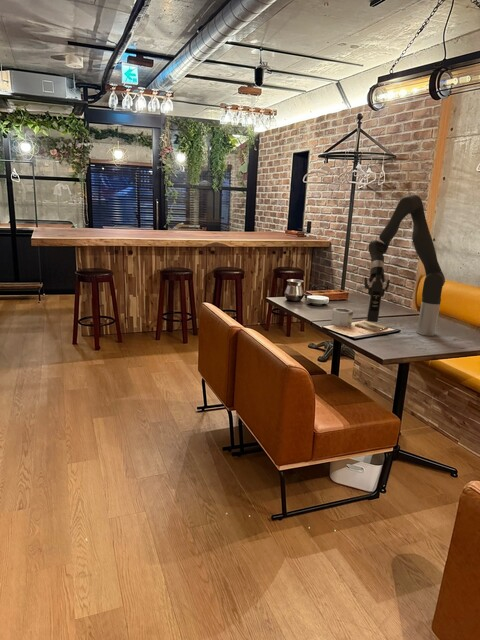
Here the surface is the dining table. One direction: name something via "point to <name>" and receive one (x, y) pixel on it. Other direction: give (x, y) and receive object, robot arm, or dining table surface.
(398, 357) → the dining table surface
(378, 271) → the wine bottle
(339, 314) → the wooden sleeve
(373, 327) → the oak board
